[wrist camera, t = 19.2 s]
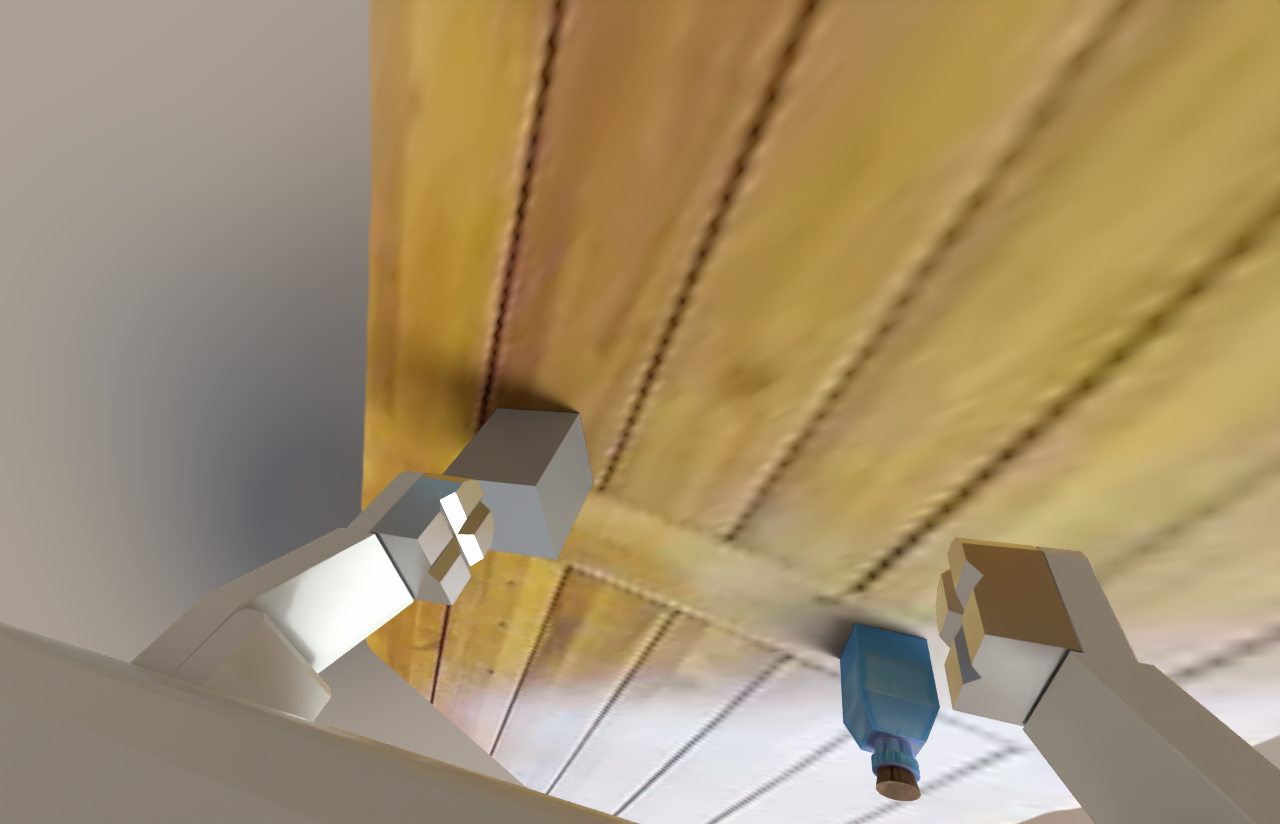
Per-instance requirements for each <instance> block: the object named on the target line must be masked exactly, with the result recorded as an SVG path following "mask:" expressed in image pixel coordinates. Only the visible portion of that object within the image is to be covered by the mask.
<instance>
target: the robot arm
mask: <svg viewBox="0 0 1280 824" xmlns="http://www.w3.org/2000/svg"><path fill="white" fill-rule="evenodd" d="M483 495H484V493H483V490H482V488H481V486H480V484H479V482H478V481H476V480H472V479H467V478H461V477H454V476H448V475H441V474H434V473H425V472H418V471H411V470H408V471H405V472H403V473H400V474H399V475H398V476H397V477H396V478H395V479H394V480H393V481H392V482H391V483H390V484H389V485H388V486H387V487H386V488H385V489H384V490H383V491H382V492H381V493H380V494H379V495H378V496H377V497H376V498H375V499H374V500H373V502H372V503H371V504H370V505H369V506H368V507H367V508H366V509H365V510H364V511H363V512H362V513H361V514H360V515H359V516H358V517H357V518H356V519H355V520H354V521H353V522H352V523H351V524H350V525H349V526H348V527H347V528H346V529H344V528H338V529H336V530H334V531H332V532H331V533H328V534H326V535H325V536H322V537H320V538H318V539H316V540H314V541H312V542H310V543H308V544H306V545H304V546H302V547H300V548H298V549H296V550H294V551H292V552H290V553H288V554H286V555H284V556H283V557H280V558H278V559H276V560H274V561H272V562H270V563H268V564H266V565H264V566H262V567H260V568H258V569H256V570H255V571H252V572H250V573H248V574H246V575H244V576H242V577H240V578H239V579H236V580H234V581H232V582H230V583H228V584H226V585H224V586H222V587H220V588H218V589H216V590H214V591H212V592H210V593H208V594H206V595H204V596H203V597H202V598H201V599H200V600H199V601H198V602H197V603H196V604H194V605H193V606H192V607H191V608H190V609H189V610H188V611H187V612H186V613H184V614H183V615H182V616H181V617H180V618H179V619H178V620H177V621H176V622H175V623H173V624H172V625H171V626H170V627H169V628H168V629H167V630H166V631H165V632H164V633H163V634H162V635H160V636H159V637H158V638H157V639H156V640H155V641H154V642H153V643H151V644H150V645H149V646H148V647H147V648H146V649H145V650H144V651H143V652H142V653H140V654H139V655H138V656H137V657H136V658H135V659H134V660H133V661H132V662H131V663H128V662H124V661H121V660H118V659H115V658H112V657H108V656H105V655H102V654H99V653H96V652H92V651H90V650H86V649H83V648H80V647H76V646H74V645H70V644H67V643H64V642H61V641H58V640H54V639H51V638H48V637H44V636H41V635H38V634H35V633H32V632H29V631H25V630H22V629H19V628H16V627H13V626H10V625H7V624H4V623H1V622H0V824H639V823H635V822H632V821H629V820H626V819H623V818H620V817H616V816H613V815H610V814H607V813H604V812H600V811H597V810H594V809H591V808H588V807H585V806H581V805H578V804H575V803H572V802H569V801H566V800H562V799H559V798H556V797H553V796H550V795H547V794H543V793H540V792H537V791H534V790H531V789H528V788H524V787H521V786H518V785H515V784H511V783H508V782H505V781H502V780H499V779H496V778H493V777H489V776H486V775H483V774H480V773H477V772H474V771H470V770H467V769H464V768H461V767H458V766H454V765H451V764H448V763H445V762H442V761H438V760H436V759H432V758H429V757H426V756H423V755H420V754H416V753H413V752H410V751H407V750H404V749H400V748H397V747H394V746H391V745H388V744H385V743H381V742H378V741H375V740H372V739H369V738H366V737H362V736H359V735H356V734H353V733H349V732H346V731H344V730H340V729H337V728H334V727H331V726H328V725H324V724H321V723H318V722H315V721H314V719H315V718H316V716H317V715H318V714H319V713H320V711H321V710H322V708H323V707H324V706H325V704H326V703H327V702H328V700H329V699H330V698H331V689H330V688H329V687H328V686H327V684H326V683H325V682H324V681H323V680H322V679H321V677H320V676H319V675H318V673H319V672H321V671H322V670H323V669H325V668H326V667H327V666H329V665H330V664H331V663H333V662H334V661H335V660H337V659H338V658H339V657H341V656H342V655H343V654H345V653H346V652H347V651H349V650H350V649H351V648H353V647H354V646H355V645H357V644H358V643H359V642H361V641H362V640H363V639H365V638H366V637H367V636H369V635H370V634H371V633H373V632H374V631H375V630H377V629H378V628H379V627H381V626H382V625H383V624H385V623H386V622H387V621H389V620H390V619H391V618H393V617H394V616H395V615H397V614H398V613H399V612H401V611H402V610H403V609H405V608H406V607H407V606H409V605H410V604H411V603H413V602H414V600H413V599H417V600H423V601H429V602H435V603H440V604H446V605H453V603H454V602H455V600H456V599H457V597H458V596H459V594H460V593H461V591H462V590H463V588H464V587H465V585H466V584H467V582H468V581H469V579H470V578H471V567H470V566H471V565H473V564H474V563H476V562H477V561H479V560H481V559H482V558H484V556H485V554H486V553H487V551H488V549H489V548H490V546H491V543H492V540H493V536H494V532H495V526H494V518H493V516H492V513H491V510H489V509H488V508H487V507H486V506H485V505H484V504H483V503H482V502H481V500H482V497H483ZM948 559H949V564H950V570H948V571H946V572H944V573H942V574H941V578H940V581H939V585H938V589H937V601H936V612H937V623H938V629H939V636H940V637H941V639H942V640H943V641H944V642H945V643H946V644H947V645H948V646H949V647H950V651H949V654H948V656H947V659H946V662H945V670H946V675H947V681H948V686H949V692H950V697H951V702H952V708H953V710H956V711H960V712H964V713H968V714H973V715H977V716H981V717H986V718H990V719H994V720H999V721H1003V722H1007V723H1011V724H1016V725H1020V726H1024V728H1023V730H1024V732H1025V733H1026V734H1027V736H1028V737H1029V738H1030V739H1031V741H1032V742H1033V743H1034V745H1035V746H1036V747H1037V749H1038V750H1039V751H1040V753H1041V754H1042V755H1043V757H1044V758H1045V759H1046V760H1047V762H1048V763H1049V764H1050V766H1051V767H1052V768H1053V770H1054V771H1055V772H1056V774H1057V775H1058V776H1059V778H1060V779H1061V780H1062V781H1063V783H1064V784H1065V785H1066V787H1067V788H1068V789H1069V791H1070V792H1071V793H1072V795H1073V796H1074V797H1075V799H1076V800H1077V801H1078V802H1079V804H1080V805H1081V806H1082V808H1083V809H1084V810H1085V812H1086V813H1087V814H1088V816H1089V817H1090V818H1091V819H1092V821H1093V822H1094V823H1095V824H1280V769H1278V768H1277V767H1276V766H1275V765H1273V764H1272V763H1271V762H1270V761H1269V760H1267V759H1266V758H1265V757H1264V756H1263V755H1261V754H1260V753H1259V752H1258V751H1256V750H1255V749H1254V748H1253V747H1252V746H1251V745H1249V744H1248V743H1247V742H1246V741H1245V740H1243V739H1242V738H1241V737H1240V736H1239V735H1237V734H1236V733H1235V732H1234V731H1232V730H1231V729H1230V728H1229V727H1228V726H1226V725H1225V724H1224V723H1223V722H1222V721H1220V720H1219V719H1218V718H1217V717H1216V716H1214V715H1213V714H1212V713H1211V712H1210V711H1208V710H1207V709H1206V708H1205V707H1204V706H1202V705H1201V704H1200V703H1199V702H1197V701H1196V700H1195V699H1194V698H1193V697H1191V696H1190V695H1189V694H1188V693H1187V692H1185V691H1184V690H1183V689H1182V688H1181V687H1179V686H1178V685H1177V684H1176V683H1175V682H1173V681H1172V680H1171V679H1170V678H1169V677H1167V676H1166V675H1165V674H1164V673H1162V672H1161V671H1160V670H1159V669H1158V668H1156V667H1155V666H1154V665H1149V664H1144V663H1139V662H1138V660H1137V658H1136V656H1135V654H1134V652H1133V650H1132V647H1131V645H1130V643H1129V641H1128V639H1127V637H1126V635H1125V633H1124V631H1123V629H1122V627H1121V625H1120V623H1119V621H1118V619H1117V617H1116V615H1115V613H1114V611H1113V609H1112V607H1111V605H1110V602H1109V600H1108V598H1107V596H1106V594H1105V592H1104V590H1103V588H1102V586H1101V584H1100V582H1099V580H1098V578H1097V576H1096V574H1095V572H1094V570H1093V568H1092V566H1091V564H1090V562H1089V559H1088V558H1087V557H1086V556H1085V555H1084V554H1083V553H1082V552H1080V551H1072V550H1063V549H1054V548H1045V547H1033V546H1029V545H1020V544H1011V543H1002V542H993V541H984V540H975V539H966V538H957V537H956V538H955V539H954V540H953V542H952V543H951V546H950V549H949V552H948Z"/></svg>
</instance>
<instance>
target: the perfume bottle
mask: <svg viewBox="0 0 1280 824" xmlns="http://www.w3.org/2000/svg"><path fill="white" fill-rule="evenodd" d="M840 668H841V687H842V707H843V723H844V724H845V726H846V727H847V729H848V730H849V732H850V733H851V735H852V736H853V738H854V739H855V741H856V742H857V744H858V746H859V747H860V749H861V750H864V751H868V752H872V753H874V754H873V755H872V757H871V760H872V771H873V773H874V775H876V776H877V783H876V789H877V791H878V792H879V793H880V794H881V795H883V796H885V797H888V798H890V799H894V800H899V801H913V800H917V799H918V798H920V796H921V794H920V791H919V788H918V785H917V782H918V781H919V780H920V772H919V766H918V762H917V760H916V759H914V758H915V757H916V755H917V754H918V753H919V751H920V750H921V749H922V747H923V746H924V744H925V743H926V741H927V739H928V736H929V734H930V731H931V729H932V726H933V724H934V721H935V719H936V716H937V713H938V711H939V708H940V705H939V700H938V695H937V690H936V685H935V680H934V675H933V670H932V665H931V660H930V654H929V649H928V644H927V639H923V638H919V637H914V636H910V635H905V634H901V633H896V632H891V631H887V630H882V629H878V628H873V627H869V626H864V625H859V624H855V625H854V627H853V629H852V632H851V634H850V637H849V639H848V641H847V644H846V646H845V649H844V651H843V653H842V656H841V658H840Z"/></svg>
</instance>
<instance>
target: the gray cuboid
mask: <svg viewBox="0 0 1280 824" xmlns="http://www.w3.org/2000/svg"><path fill="white" fill-rule="evenodd" d="M443 475H448V476H454V477H461V478H467V479H472V480H476V481H478V482H479V484H480V486H481V488H482V490H483V493H484V495H483V497H482V500H481V502H482V503H483V504H484V505H485V506H486V507H487V508H488V509H489V510H491V513H492V516H493V518H494V526H495V532H494V536H493V540H492V543H491V546H490V548H489V549H488V550H495V551H502V552H509V553H516V554H523V555H530V556H537V557H544V558H551V559H557V558H558V556H559V554H560V551H561V549H562V547H563V545H564V543H565V541H566V539H567V537H568V535H569V533H570V530H571V528H572V526H573V524H574V522H575V520H576V518H577V516H578V514H579V512H580V510H581V507H582V505H583V503H584V501H585V499H586V497H587V495H588V493H589V491H590V489H591V486H592V484H593V477H592V472H591V467H590V462H589V457H588V453H587V448H586V443H585V438H584V433H583V428H582V423H581V419H580V414H579V413H567V412H551V411H535V410H519V409H503V408H497V409H496V411H495V412H494V413H493V414H492V415H491V417H490V418H489V419H488V420H487V421H486V423H485V424H484V425H483V426H482V427H481V429H480V430H479V431H478V432H477V434H476V435H475V436H474V437H473V438H472V440H471V441H470V442H469V443H468V444H467V446H466V447H465V448H464V449H463V450H462V452H461V453H460V454H459V455H458V456H457V458H456V459H455V460H454V461H453V462H452V464H451V465H450V466H449V467H448V469H447V470H446V471H445V472H444V473H443Z"/></svg>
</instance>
